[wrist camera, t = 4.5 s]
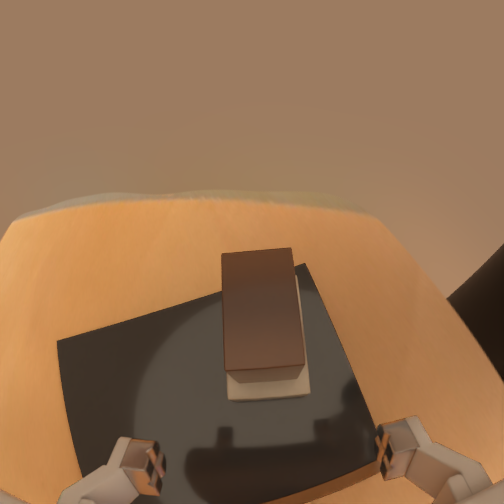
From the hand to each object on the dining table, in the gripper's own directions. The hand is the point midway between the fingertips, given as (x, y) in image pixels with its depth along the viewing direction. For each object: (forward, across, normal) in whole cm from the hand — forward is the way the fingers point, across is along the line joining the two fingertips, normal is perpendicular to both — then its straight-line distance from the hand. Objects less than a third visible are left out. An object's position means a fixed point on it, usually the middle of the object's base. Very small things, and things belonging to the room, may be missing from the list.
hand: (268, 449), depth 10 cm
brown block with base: (+12, 0, +2) cm, 12 cm away
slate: (+9, +5, +6) cm, 12 cm away
